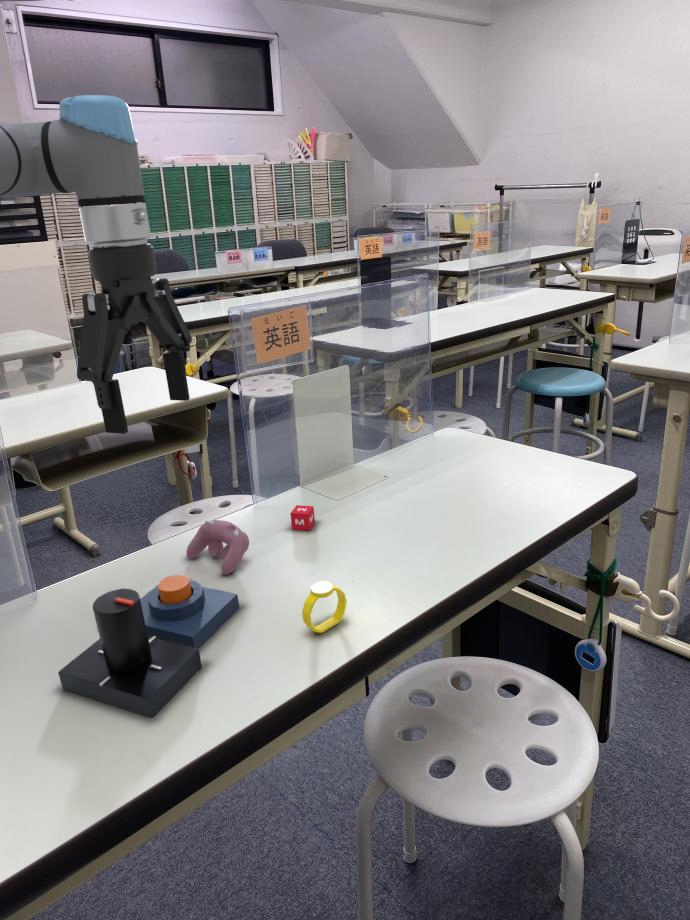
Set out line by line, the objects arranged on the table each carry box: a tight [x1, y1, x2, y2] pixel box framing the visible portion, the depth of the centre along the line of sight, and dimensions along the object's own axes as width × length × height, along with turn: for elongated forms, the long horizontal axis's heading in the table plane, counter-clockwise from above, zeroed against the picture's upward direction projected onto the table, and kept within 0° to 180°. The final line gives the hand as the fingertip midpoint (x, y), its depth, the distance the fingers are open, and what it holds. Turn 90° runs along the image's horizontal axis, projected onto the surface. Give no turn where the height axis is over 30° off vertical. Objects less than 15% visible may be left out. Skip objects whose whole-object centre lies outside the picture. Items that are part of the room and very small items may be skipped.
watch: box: [301, 580, 348, 634], centre depth 85 cm, size 6×3×6 cm, turn 129°
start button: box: [157, 574, 192, 604], centre depth 88 cm, size 4×4×2 cm
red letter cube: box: [290, 504, 316, 532], centre depth 112 cm, size 3×3×3 cm
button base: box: [140, 579, 240, 649], centre depth 89 cm, size 12×10×4 cm
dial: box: [92, 588, 151, 674], centre depth 77 cm, size 5×5×8 cm
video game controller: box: [186, 519, 250, 576], centre depth 103 cm, size 10×5×7 cm, turn 49°
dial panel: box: [57, 636, 203, 719], centre depth 79 cm, size 13×9×3 cm
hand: (150, 415), depth 89 cm, fingers open, 13 cm apart
